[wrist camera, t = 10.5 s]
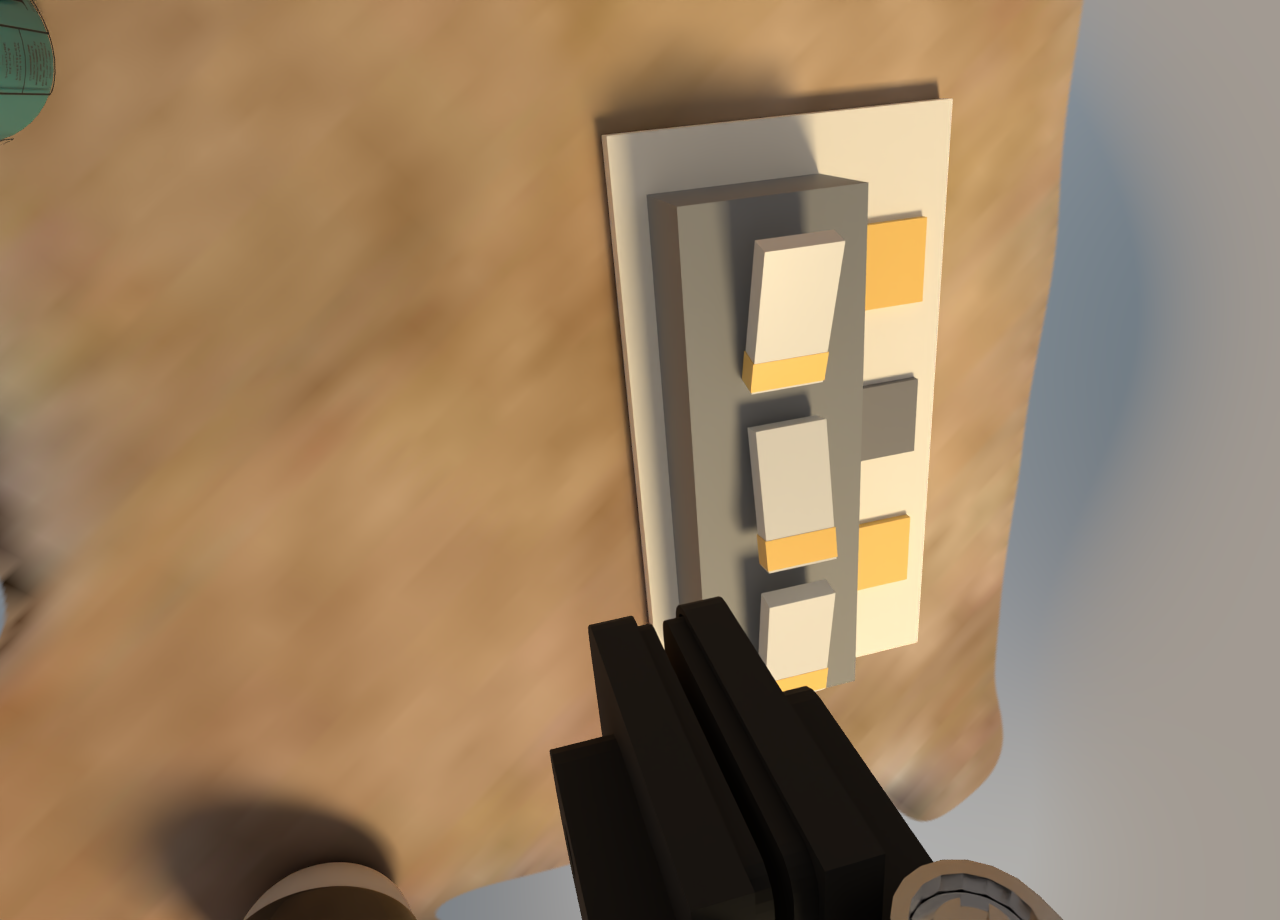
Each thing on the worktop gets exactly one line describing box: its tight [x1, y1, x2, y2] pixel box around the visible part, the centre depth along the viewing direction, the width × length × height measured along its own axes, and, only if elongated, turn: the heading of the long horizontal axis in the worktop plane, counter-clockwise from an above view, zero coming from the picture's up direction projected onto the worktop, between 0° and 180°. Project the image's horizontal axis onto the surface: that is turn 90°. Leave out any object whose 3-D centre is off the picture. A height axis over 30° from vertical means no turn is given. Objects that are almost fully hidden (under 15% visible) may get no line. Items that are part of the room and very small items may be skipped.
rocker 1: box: [742, 230, 845, 394], centre depth 33 cm, size 6×3×1 cm, turn 5°
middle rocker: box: [747, 415, 838, 573], centre depth 37 cm, size 6×3×1 cm, turn 5°
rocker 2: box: [758, 579, 835, 692], centre depth 40 cm, size 6×3×1 cm, turn 5°
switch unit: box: [601, 99, 953, 688], centre depth 41 cm, size 30×16×6 cm, turn 5°
